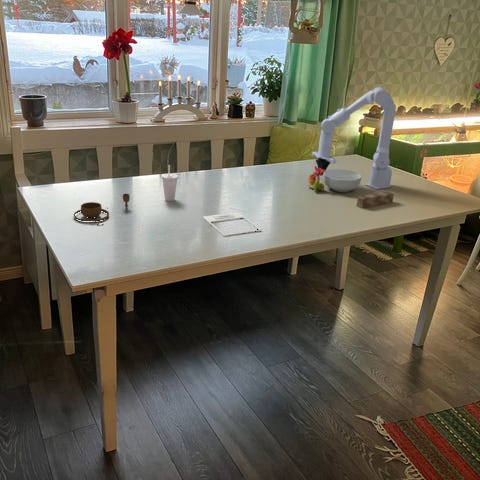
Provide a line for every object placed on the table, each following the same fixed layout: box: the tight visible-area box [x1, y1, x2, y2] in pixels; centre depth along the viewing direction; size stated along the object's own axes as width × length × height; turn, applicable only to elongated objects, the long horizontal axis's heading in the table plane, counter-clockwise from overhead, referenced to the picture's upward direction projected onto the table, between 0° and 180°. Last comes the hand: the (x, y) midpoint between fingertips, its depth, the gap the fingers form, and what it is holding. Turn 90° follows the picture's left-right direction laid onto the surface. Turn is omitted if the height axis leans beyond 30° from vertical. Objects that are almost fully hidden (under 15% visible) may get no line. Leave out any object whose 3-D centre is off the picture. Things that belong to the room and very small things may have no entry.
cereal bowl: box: [322, 168, 362, 193], centre depth 225 cm, size 17×17×7 cm
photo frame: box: [202, 211, 263, 237], centre depth 180 cm, size 15×1×18 cm
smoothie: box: [161, 164, 179, 202], centre depth 197 cm, size 6×6×14 cm
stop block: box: [356, 191, 395, 209], centre depth 210 cm, size 18×3×4 cm, turn 122°
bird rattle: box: [307, 166, 325, 193], centre depth 222 cm, size 6×11×9 cm
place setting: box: [73, 193, 130, 221], centre depth 179 cm, size 18×20×6 cm
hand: (321, 174), depth 235 cm, fingers closed
